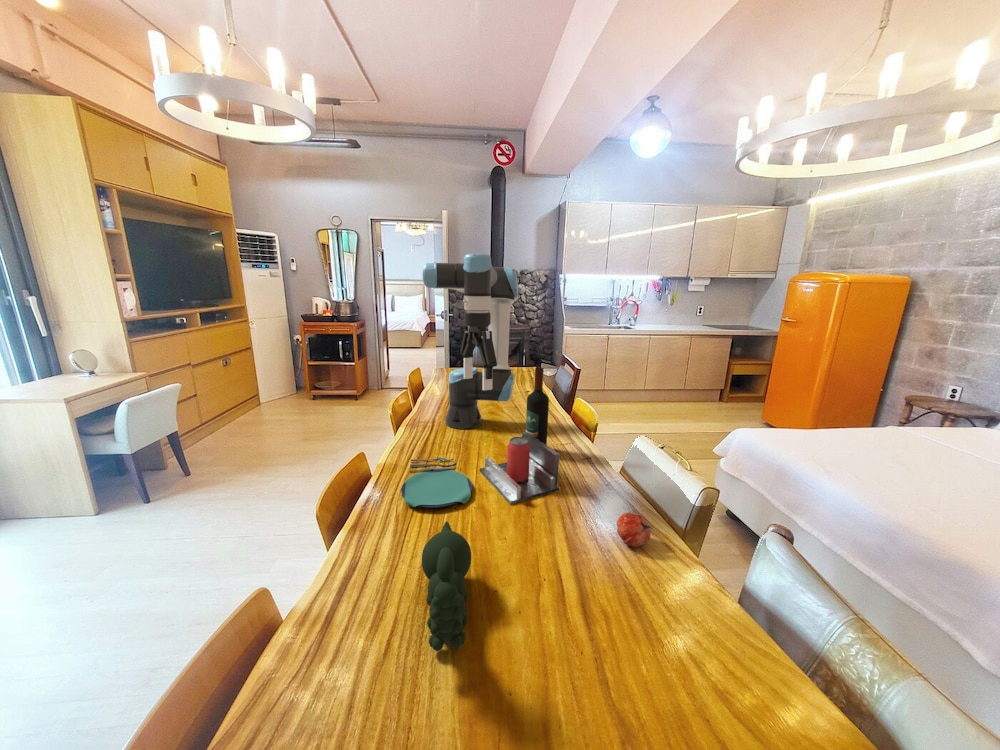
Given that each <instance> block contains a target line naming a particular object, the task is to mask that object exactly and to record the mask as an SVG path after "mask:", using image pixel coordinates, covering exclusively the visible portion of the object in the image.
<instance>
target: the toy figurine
mask: <svg viewBox="0 0 1000 750" xmlns="http://www.w3.org/2000/svg"><path fill="white" fill-rule="evenodd" d="M421 552H422V553H421V567H422V571H423V573H424V575H425V576H426V578H427V579H428V585H427V595H426V600H425V601H426V603H427V605H428V606H429V617H428V619H427V620H426V625H427V627H428V629H429V632H430V634H431V635H430V636H429V638H428V644H429V647H430V648H431V649H433V650H434V651H436V652H440V651H442V649H443V648H444V644H445V643H449V644H450V645H449V646H450V647H451V648H452V649H453V650H457V649H459V648H460V647H461V646H462V645H463V644H465V640H466V633H465V632H464V631H463V627H465V626H466V624H467V622H468V617H467V615H466V611H467V610H466V608H467V607H466V606H467V605H466V602H467V599H468V597H469V596H468V592H467V583H466V575H467V574H468V572H469V569H470V567H471V564H472V550H471V545H470V544H469V542H468V541H467V540H466V538H465V537H464V536H463V535H462V534H460V533H458V532H456V531H453V529H452V528H451V525H450V523H449V521H448V520H446V521H445V522H444V524H443V526H442V529H441V530H440V531H439V532H437V533H436V534H434V535H433V536H431V538H429V540H428V541H427V542H426V544H425V545H424V547H423V549H422V551H421Z"/></svg>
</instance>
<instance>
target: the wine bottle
mask: <svg viewBox="0 0 1000 750" xmlns="http://www.w3.org/2000/svg"><path fill="white" fill-rule="evenodd" d="M543 384H544V368H543V367H535V368H534V386H533V387H534V389H533V391H532V392H531V393H529V394H528V396H527V398H526V418H525V419H526V421H525V432H528V433H529V434H531V435H532V436H534V437H535V438H537V439H538V440H539V441H541V442H542V443H544V444H545V445H547V446H548V443H547V442H548V426H549V425H548V424H549V406H550V405H549V404H550V399H549V396H548V394H546V393H545V392H544V391H543Z"/></svg>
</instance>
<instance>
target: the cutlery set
mask: <svg viewBox="0 0 1000 750" xmlns="http://www.w3.org/2000/svg"><path fill="white" fill-rule="evenodd" d="M446 458H447V457H440V456H439V457H435V458H427V459H423V458H421V459H420V458H413V459H412V458H411V459H410V462H411V461H428V460H435V461H437V460H440V461H439V462H438V463H410V466H409V467H410V468H412V467H421V466H422V467H423V466H440V465H441V467H435V468H433V467H427V468H421V469H420V468H419V469H409V473H411V472H417V473H415V474H413V475H410V476H409V477H408V478H407V477H406V479H405V481H404V482H403V484H402V486H401V488H400V493H401V496H402V498H403V500H404V503H405V504H406V505H408V506H411V507H413V508H415V507H421V508H426V509H427V508H429V509H438V508H444V507H445V508H446V507H451V506H453V505H456V504H458V503H462V504H463V505H465V504H466V503H468V502H469V500H470V499H471V496H472V495H471V494H472V491H473V483H472V482H471V480H470V478H469V477H468V476H467V475H466V474H464V473H461V472H459V471H456V469H457V467H456V466H453V465H455V464H456V461H455V460H450V461H443V460H447V459H446ZM428 462H429V461H428ZM441 462H446V463H449V462H453V463H454V464H453V463H451V464H448V465H446V464H445V465H443V464H440V465H439V463H441ZM449 469H450V470H449ZM431 470H433V471H431ZM418 471H421V472H418Z"/></svg>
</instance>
